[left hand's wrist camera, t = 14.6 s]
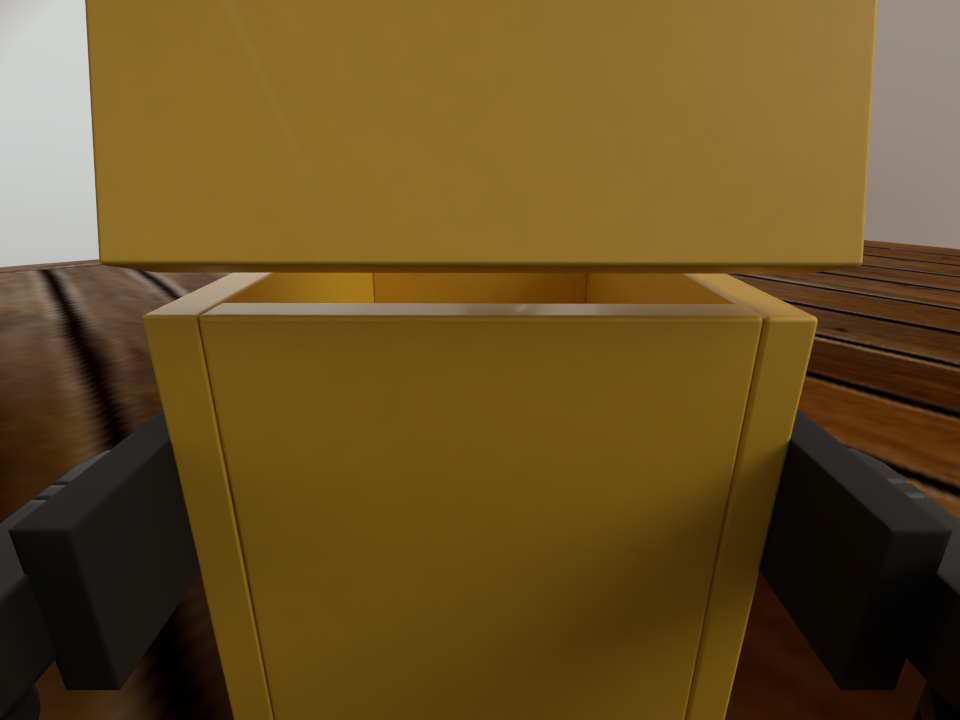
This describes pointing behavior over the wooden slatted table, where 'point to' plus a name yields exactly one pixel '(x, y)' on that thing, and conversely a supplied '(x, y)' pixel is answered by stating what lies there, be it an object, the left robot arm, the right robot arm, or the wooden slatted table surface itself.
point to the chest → (479, 487)
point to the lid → (481, 135)
